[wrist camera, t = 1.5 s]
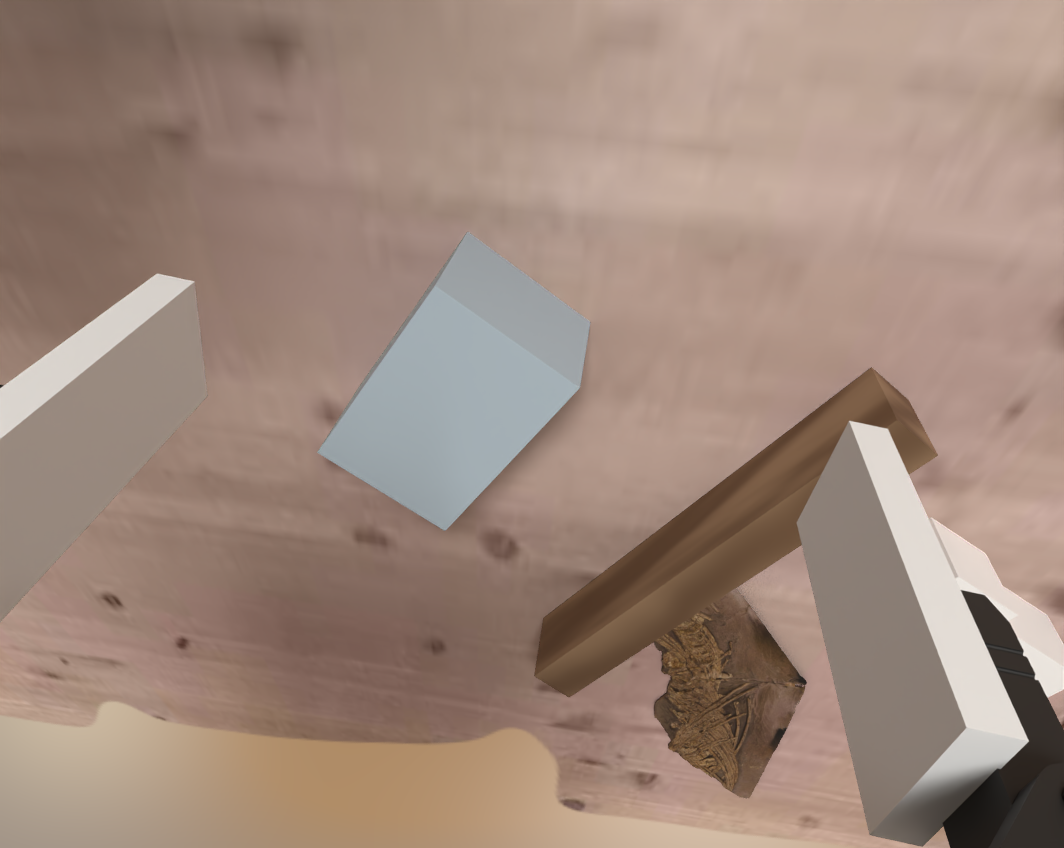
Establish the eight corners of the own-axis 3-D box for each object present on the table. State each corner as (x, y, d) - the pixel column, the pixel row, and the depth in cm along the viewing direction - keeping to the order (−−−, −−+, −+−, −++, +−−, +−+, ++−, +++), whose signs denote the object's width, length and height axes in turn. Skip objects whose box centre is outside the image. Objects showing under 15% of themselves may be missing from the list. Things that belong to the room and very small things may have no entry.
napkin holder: (1075, 634, 48) (1120, 711, 43) (887, 653, 51) (910, 726, 47) (1086, 452, 41) (1142, 522, 36) (865, 488, 44) (890, 556, 39)
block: (361, 383, 44) (317, 452, 38) (468, 230, 38) (435, 285, 32) (471, 455, 46) (445, 531, 40) (590, 320, 40) (579, 387, 34)
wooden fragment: (641, 576, 50) (640, 587, 49) (812, 574, 48) (815, 586, 47) (663, 788, 64) (663, 800, 63) (796, 794, 62) (798, 807, 61)
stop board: (543, 618, 53) (534, 676, 49) (871, 367, 39) (897, 419, 35) (575, 638, 54) (569, 697, 50) (908, 400, 40) (937, 455, 36)
